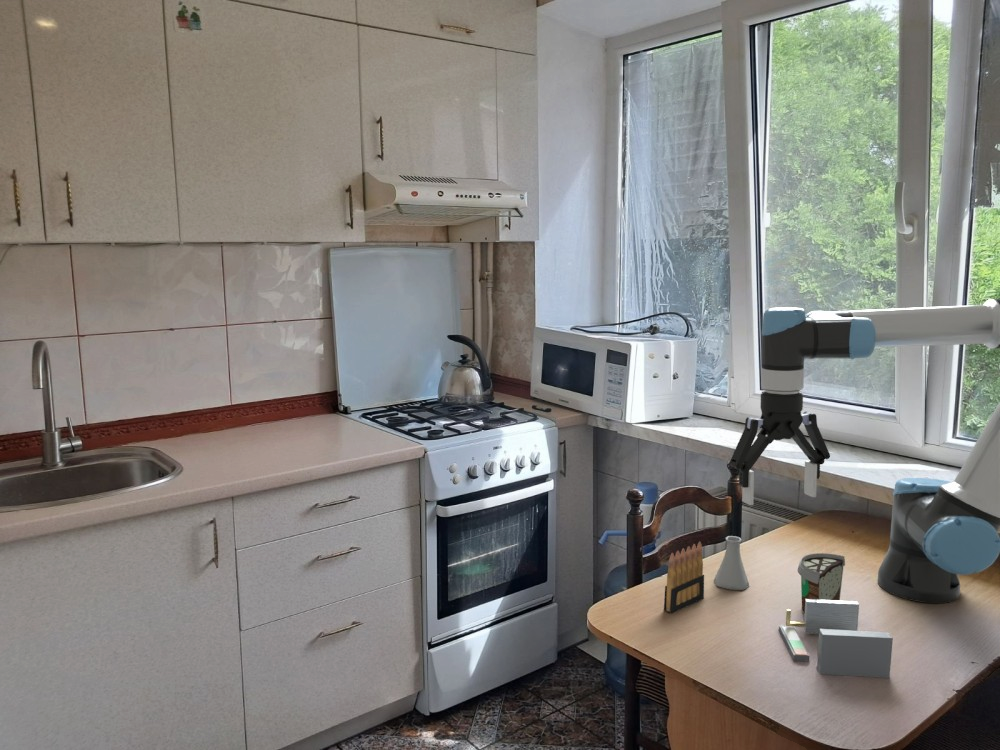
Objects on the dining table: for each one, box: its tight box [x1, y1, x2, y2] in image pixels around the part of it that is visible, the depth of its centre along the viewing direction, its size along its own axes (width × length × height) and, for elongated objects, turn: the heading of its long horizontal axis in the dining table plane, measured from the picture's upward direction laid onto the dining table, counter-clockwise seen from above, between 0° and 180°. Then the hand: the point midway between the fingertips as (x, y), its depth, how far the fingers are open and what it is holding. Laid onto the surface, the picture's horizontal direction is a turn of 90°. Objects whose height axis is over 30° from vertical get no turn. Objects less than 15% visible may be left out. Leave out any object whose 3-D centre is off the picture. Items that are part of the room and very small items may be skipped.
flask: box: [713, 535, 750, 591], centre depth 167 cm, size 7×7×10 cm
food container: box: [797, 552, 846, 615], centre depth 156 cm, size 12×6×10 cm, turn 134°
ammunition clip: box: [663, 541, 705, 615], centre depth 158 cm, size 11×2×12 cm, turn 131°
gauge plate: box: [785, 599, 860, 635], centre depth 146 cm, size 12×1×6 cm, turn 84°
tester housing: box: [778, 624, 894, 679], centre depth 139 cm, size 14×15×7 cm
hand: (779, 499), depth 154 cm, fingers open, 13 cm apart
